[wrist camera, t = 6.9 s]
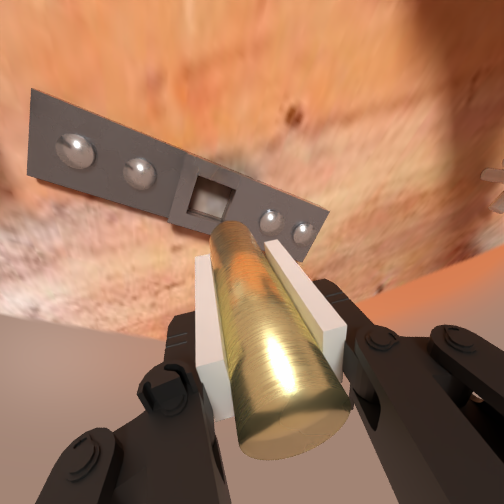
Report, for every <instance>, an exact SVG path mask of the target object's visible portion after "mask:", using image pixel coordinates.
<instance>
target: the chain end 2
mask: <svg viewBox="0 0 504 504" xmlns="http://www.w3.org/2000/svg"><path fill="white" fill-rule="evenodd" d="M198 175H199V176H202V177H204V178H207V179H210V180H212V181H215V182H217V183H220V184H223V185H225V186H228V187H231V188H233V189H235V190H234V192H233V195H232V198H231V200H230V203H229V206H228V208H227V211H226V214H225V217H224V219H223V222H225V221H230V220H233V221H239V222H241V223H243V224H244V225H246V226H247V227H248V229H249V230H250V232H251V234H252V235H253V237H254V239H255V240H256V242H257V244H258V245H259V247H260V249H261V250H262V251H265V247H264V242H267V241H272V240H277V239H278V241H279V242H280V243H281V244H282V246H283V247H284V248H285V249H286V250H287V252H288V253H289V254H290V255H291V257H292V258H293V259H294V260H296V261H299V262H303V260H304V258H305V257H306V255H307V253H308V251H309V249H310V247H311V245H312V244H313V242H314V240H315V238H316V236H317V234H318V232H319V231H320V229H321V227H322V225H323V223H324V221H325V219H326V218H327V216H328V214H329V212H330V211H328V210H326V209H325V208H323V207H321V206H319V205H317V204H314V203H312V202H309V201H307V200H304V199H302V198H300V197H297V196H295V195H292V194H290V193H287V192H285V191H283V190H280V189H278V188H275V187H273V186H270V185H268V184H266V183H263V182H261V181H256V180H253V179H251V178H249V177H246V176H244V175H241V174H239V173H236V172H234V171H232V170H229V169H227V168H224V167H222V166H219V165H217V164H214V163H212V162H210V161H207V160H205V159H202V158H200V157H197V156H195V155H192V154H190V153H188V152H187V154H186V158H185V161H184V165H183V168H182V172H181V175H180V179H179V182H178V186H177V189H176V193H175V197H174V200H173V204H172V207H171V211H170V214H169V218H168V221H167V222H168V223H172V224H175V225H178V226H182V227H185V228H188V229H192V230H195V231H198V232H202V233H205V234H209V235H211V233H212V231H213V229H214V228H215V227H216V226H217V225H219V224H220V223H222V222H220V221H217V220H214V219H211V218H208V217H205V216H202V215H199V214H196V213H192V212H189V211H187V209H188V205H189V202H190V199H191V196H192V192H193V189H194V186H195V183H196V179H197V176H198Z"/></svg>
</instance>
